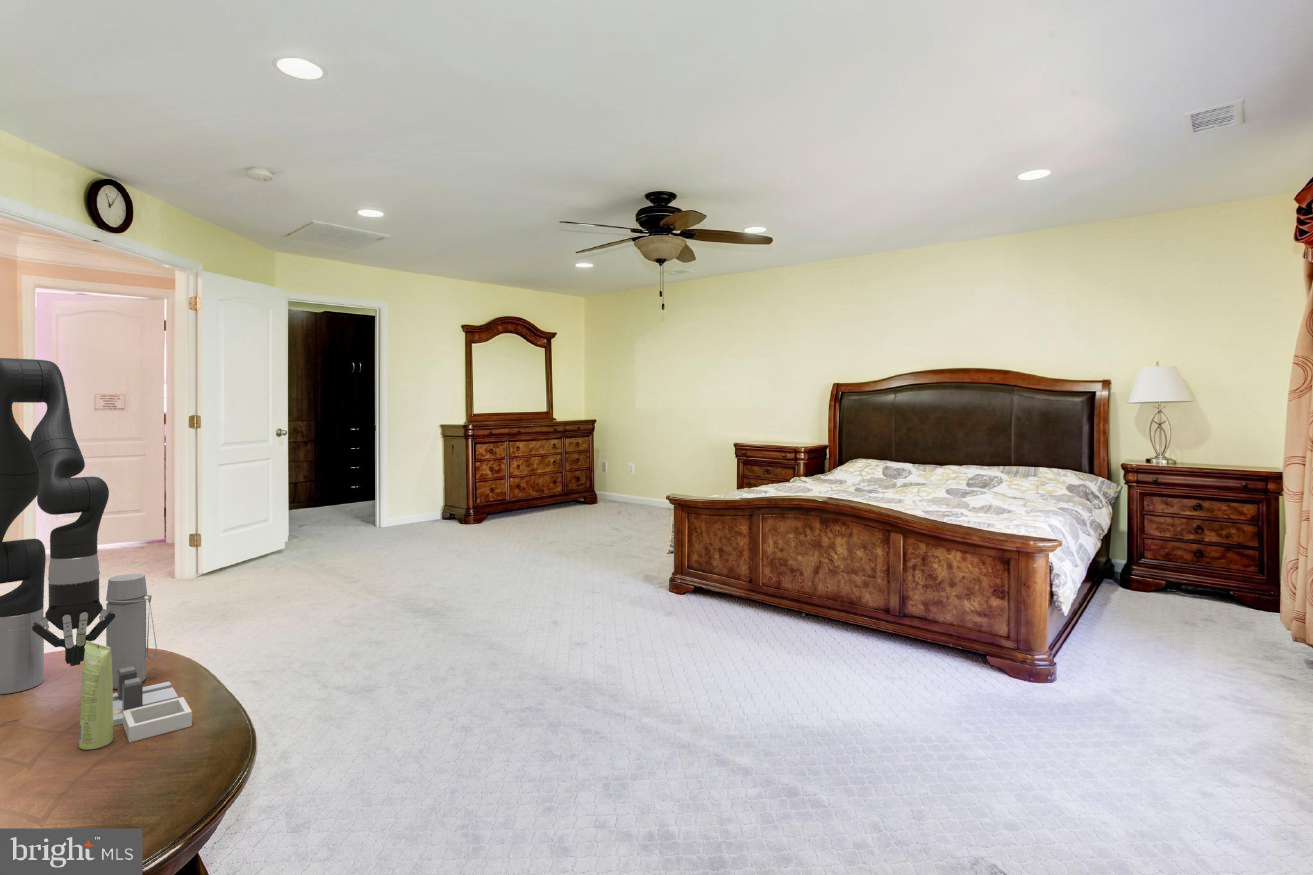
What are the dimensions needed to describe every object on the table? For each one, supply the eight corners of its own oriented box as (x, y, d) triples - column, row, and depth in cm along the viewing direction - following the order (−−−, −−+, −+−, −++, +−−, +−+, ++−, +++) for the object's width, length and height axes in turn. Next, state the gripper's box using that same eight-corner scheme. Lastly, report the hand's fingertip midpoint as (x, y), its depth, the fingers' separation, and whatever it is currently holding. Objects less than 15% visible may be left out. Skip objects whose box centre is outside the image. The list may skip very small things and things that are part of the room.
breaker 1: (117, 694, 143) (117, 668, 143) (134, 690, 145) (134, 665, 145) (119, 698, 141) (119, 673, 140) (136, 694, 143) (136, 669, 143)
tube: (121, 735, 129) (121, 637, 128) (110, 748, 124) (110, 646, 123) (86, 739, 127) (85, 640, 126) (73, 752, 122) (72, 649, 121)
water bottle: (105, 694, 146) (105, 583, 145) (106, 681, 152) (106, 575, 151) (157, 684, 152) (157, 577, 151) (156, 673, 158) (156, 570, 157)
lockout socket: (122, 725, 133) (123, 710, 132) (183, 710, 140) (183, 696, 140) (129, 742, 126) (129, 727, 126) (191, 725, 133) (191, 711, 133)
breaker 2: (122, 706, 137) (122, 680, 137) (140, 702, 139) (140, 676, 139) (124, 711, 135) (124, 685, 135) (142, 707, 137) (142, 681, 137)
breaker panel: (104, 700, 143) (104, 694, 143) (169, 686, 151) (169, 680, 151) (112, 726, 132) (112, 718, 132) (182, 708, 140) (182, 702, 140)
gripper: (115, 569, 137) (115, 651, 138) (27, 579, 128) (28, 667, 128) (119, 576, 132) (120, 661, 132) (28, 587, 122) (29, 679, 123)
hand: (74, 664), depth 130 cm, fingers closed
